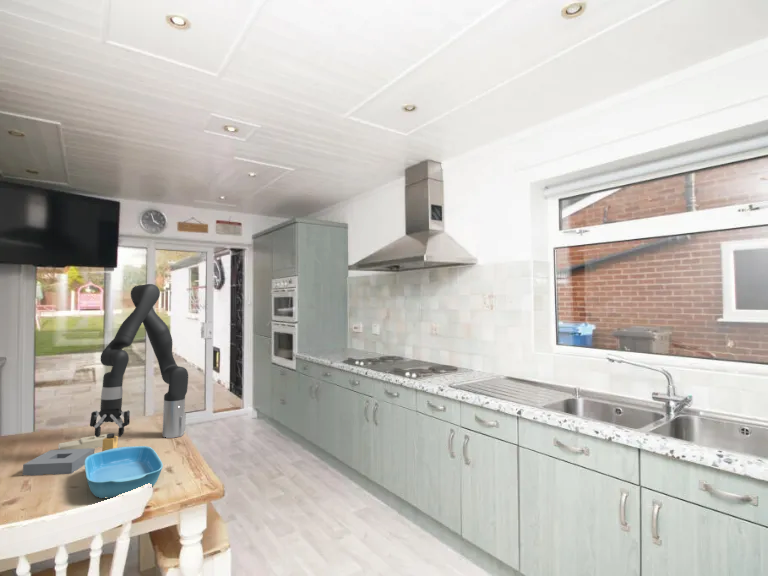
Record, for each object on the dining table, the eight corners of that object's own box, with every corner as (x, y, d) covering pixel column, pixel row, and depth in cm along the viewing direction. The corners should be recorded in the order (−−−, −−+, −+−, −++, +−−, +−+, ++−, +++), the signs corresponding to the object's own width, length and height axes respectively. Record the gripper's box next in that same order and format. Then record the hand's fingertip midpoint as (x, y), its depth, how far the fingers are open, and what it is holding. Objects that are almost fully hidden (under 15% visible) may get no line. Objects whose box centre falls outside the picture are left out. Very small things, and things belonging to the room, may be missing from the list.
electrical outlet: (58, 441, 179) (108, 433, 191) (58, 450, 178) (108, 442, 190) (60, 445, 173) (111, 437, 185) (59, 455, 173) (110, 446, 185)
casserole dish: (167, 491, 140) (168, 469, 141) (86, 510, 127) (88, 486, 127) (149, 459, 169) (149, 441, 170) (81, 472, 156) (82, 452, 156)
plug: (117, 452, 176) (118, 432, 176) (112, 456, 172) (113, 435, 172) (106, 453, 175) (107, 432, 176) (101, 456, 171) (103, 435, 172)
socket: (94, 458, 169) (94, 448, 169) (71, 473, 153) (72, 462, 153) (50, 460, 166) (50, 449, 167) (22, 475, 151) (23, 464, 151)
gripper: (134, 395, 180) (131, 433, 179) (98, 395, 178) (95, 434, 176) (126, 398, 172) (123, 438, 171) (88, 399, 170) (85, 439, 169)
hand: (109, 436), depth 174 cm, fingers open, 8 cm apart
